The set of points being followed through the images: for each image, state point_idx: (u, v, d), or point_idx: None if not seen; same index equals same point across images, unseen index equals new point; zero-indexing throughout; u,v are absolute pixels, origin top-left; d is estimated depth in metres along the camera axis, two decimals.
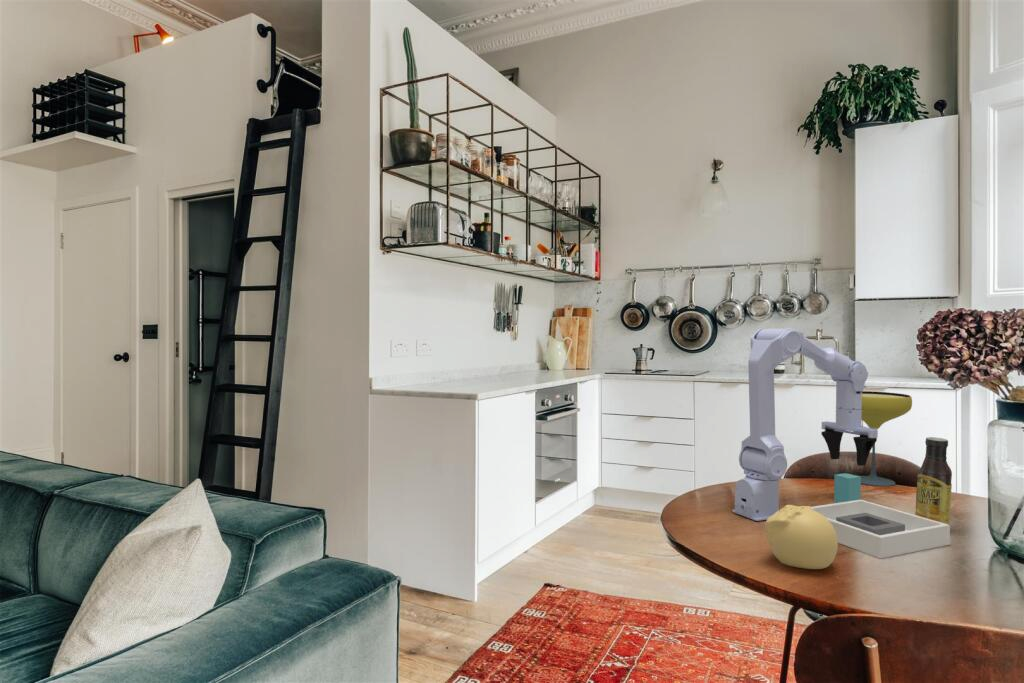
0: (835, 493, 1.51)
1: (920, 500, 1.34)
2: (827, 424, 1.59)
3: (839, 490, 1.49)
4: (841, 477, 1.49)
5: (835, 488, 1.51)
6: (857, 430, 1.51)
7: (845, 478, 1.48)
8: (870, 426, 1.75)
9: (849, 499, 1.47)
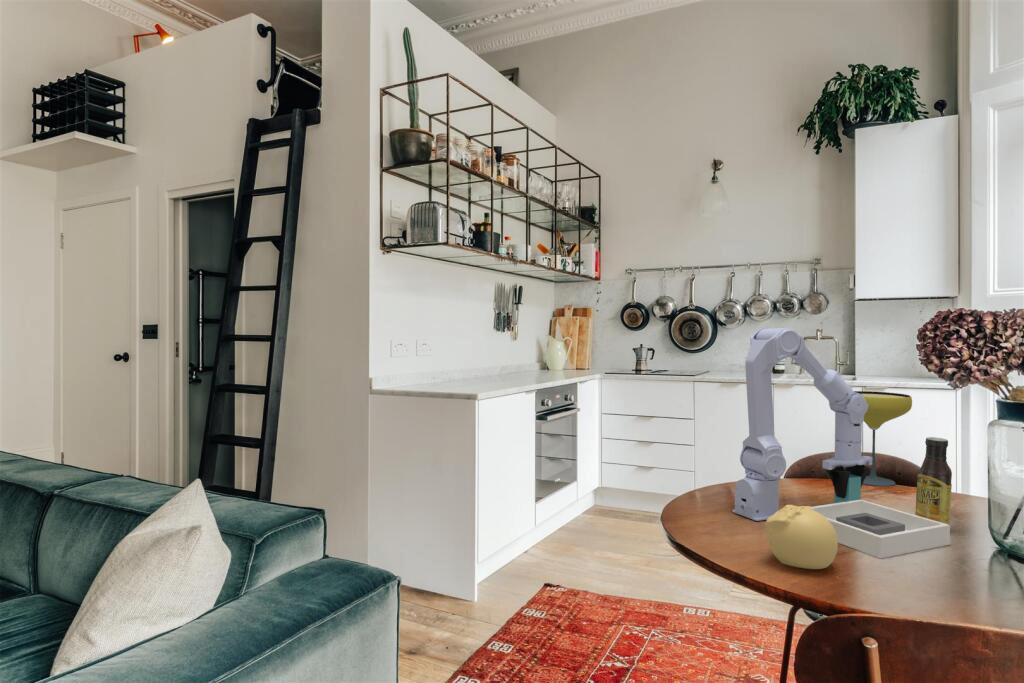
0: None
1: (920, 500, 1.34)
2: None
3: None
4: None
5: None
6: None
7: None
8: (870, 426, 1.75)
9: (849, 499, 1.47)
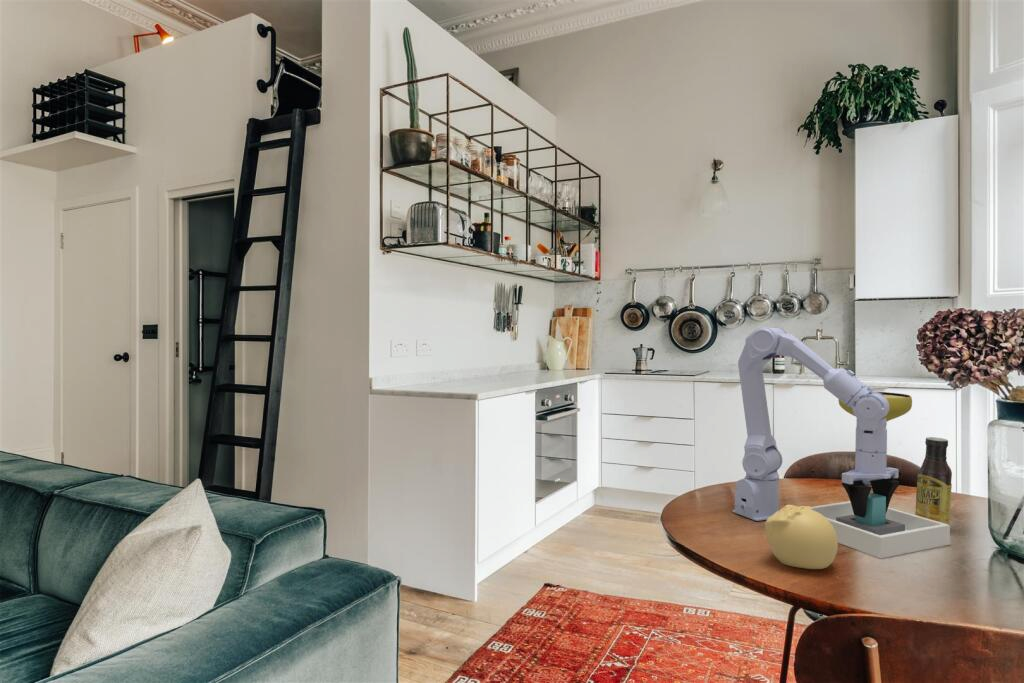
0: None
1: (920, 500, 1.34)
2: None
3: None
4: None
5: None
6: None
7: (868, 498, 1.28)
8: None
9: (873, 522, 1.28)
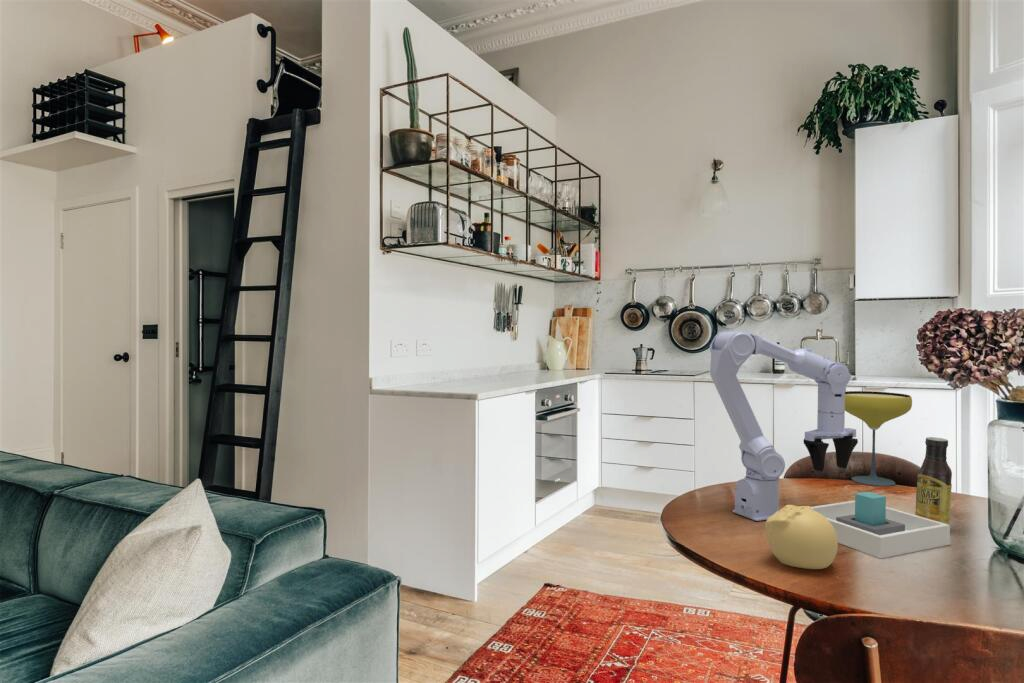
0: (856, 515, 1.31)
1: (920, 500, 1.34)
2: None
3: (861, 511, 1.30)
4: (863, 497, 1.29)
5: (856, 509, 1.31)
6: None
7: (868, 498, 1.28)
8: (870, 426, 1.75)
9: (873, 522, 1.28)
